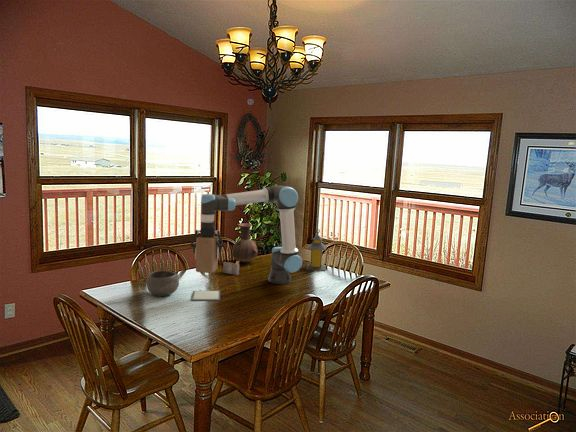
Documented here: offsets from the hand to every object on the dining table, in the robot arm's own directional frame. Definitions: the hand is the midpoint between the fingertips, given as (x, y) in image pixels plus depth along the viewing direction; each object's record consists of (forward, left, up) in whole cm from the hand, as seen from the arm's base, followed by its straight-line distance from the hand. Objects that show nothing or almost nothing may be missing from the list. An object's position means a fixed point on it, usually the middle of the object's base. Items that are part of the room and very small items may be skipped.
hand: (206, 258), depth 243 cm
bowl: (+25, -3, -23) cm, 34 cm away
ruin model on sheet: (-15, -48, -23) cm, 55 cm away
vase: (-26, -78, -23) cm, 85 cm away
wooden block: (0, 0, -7) cm, 7 cm away
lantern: (-79, -62, -23) cm, 103 cm away
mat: (0, 0, -22) cm, 22 cm away
